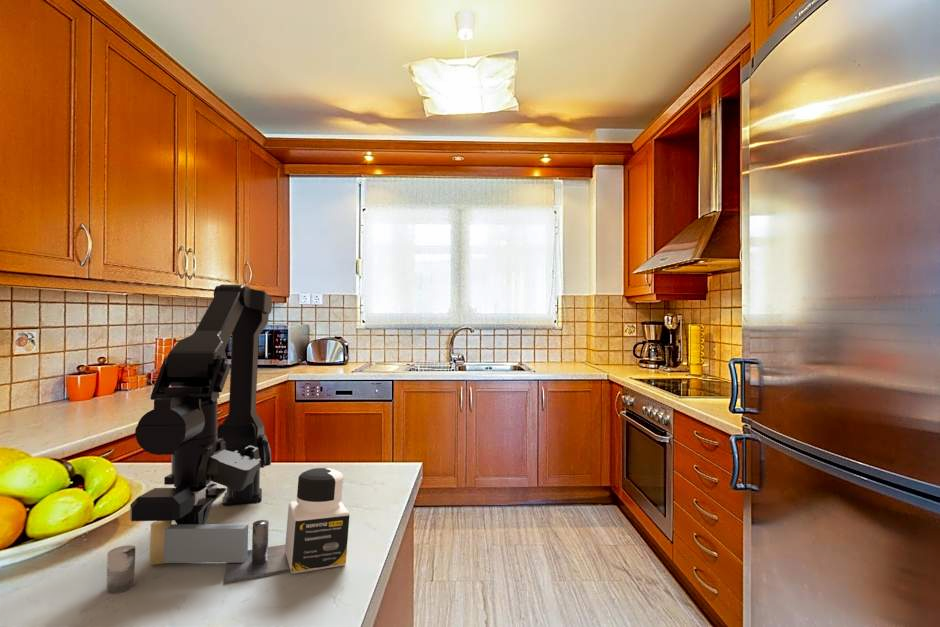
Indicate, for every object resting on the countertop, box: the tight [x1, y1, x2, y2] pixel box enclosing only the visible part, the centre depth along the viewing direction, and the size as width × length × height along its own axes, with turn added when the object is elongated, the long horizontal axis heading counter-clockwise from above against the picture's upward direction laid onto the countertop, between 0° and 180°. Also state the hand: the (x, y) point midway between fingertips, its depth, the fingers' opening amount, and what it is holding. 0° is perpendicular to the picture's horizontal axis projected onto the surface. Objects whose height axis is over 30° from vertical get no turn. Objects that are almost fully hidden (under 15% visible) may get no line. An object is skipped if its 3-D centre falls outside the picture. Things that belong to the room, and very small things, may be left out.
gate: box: [149, 521, 249, 565], centre depth 65 cm, size 13×2×5 cm, turn 91°
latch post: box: [105, 544, 136, 594], centre depth 59 cm, size 3×3×4 cm
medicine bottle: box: [284, 467, 350, 574], centre depth 67 cm, size 7×7×12 cm
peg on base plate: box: [224, 519, 291, 584], centre depth 66 cm, size 8×8×6 cm
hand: (194, 545), depth 68 cm, fingers closed
